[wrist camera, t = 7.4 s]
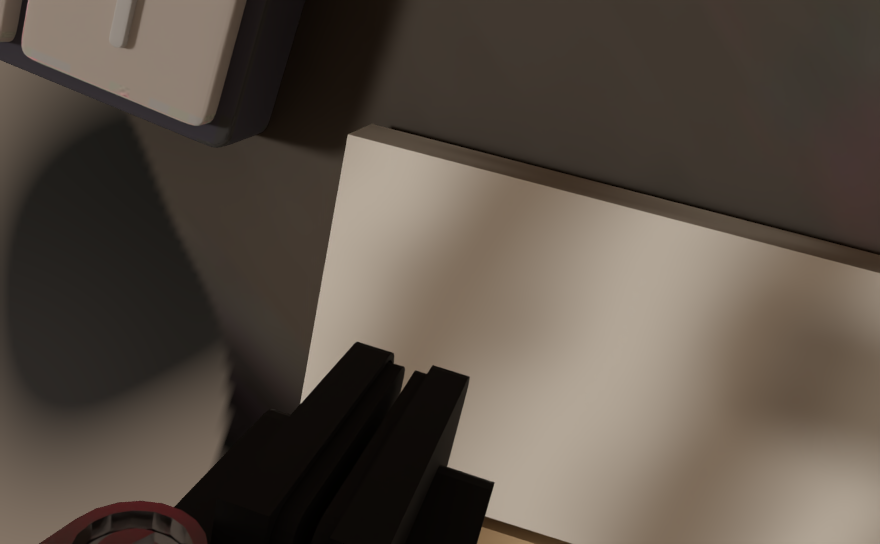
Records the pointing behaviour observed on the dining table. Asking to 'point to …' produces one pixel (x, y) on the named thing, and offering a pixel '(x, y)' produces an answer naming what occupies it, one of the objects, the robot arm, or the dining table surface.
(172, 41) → the calculator
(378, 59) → the dining table surface
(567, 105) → the dining table surface
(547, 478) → the ash plank
